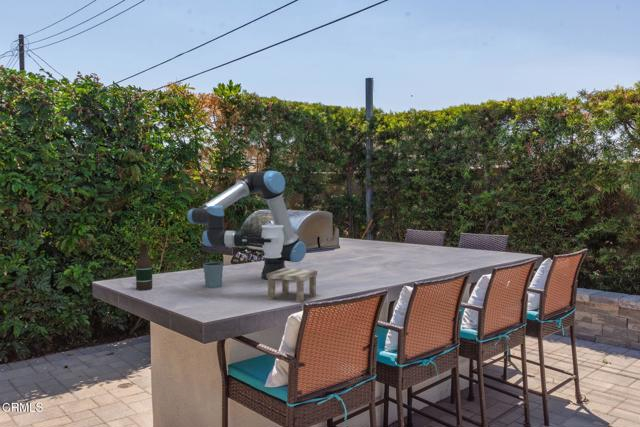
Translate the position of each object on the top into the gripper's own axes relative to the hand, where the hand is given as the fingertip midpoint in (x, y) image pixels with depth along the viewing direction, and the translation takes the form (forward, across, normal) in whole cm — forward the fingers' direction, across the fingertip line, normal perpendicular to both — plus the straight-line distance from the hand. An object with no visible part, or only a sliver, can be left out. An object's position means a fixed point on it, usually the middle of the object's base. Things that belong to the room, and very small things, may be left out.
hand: (281, 239), depth 226 cm
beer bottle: (-74, -10, -28) cm, 80 cm away
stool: (+5, -3, -28) cm, 28 cm away
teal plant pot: (-42, -22, -28) cm, 55 cm away
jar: (-4, 0, -9) cm, 10 cm away
